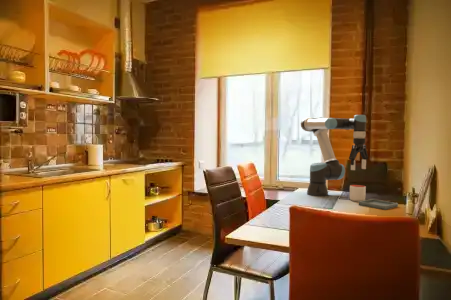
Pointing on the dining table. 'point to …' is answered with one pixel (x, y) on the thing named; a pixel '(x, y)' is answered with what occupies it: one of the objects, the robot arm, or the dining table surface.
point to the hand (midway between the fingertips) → (358, 169)
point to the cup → (357, 193)
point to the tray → (378, 204)
